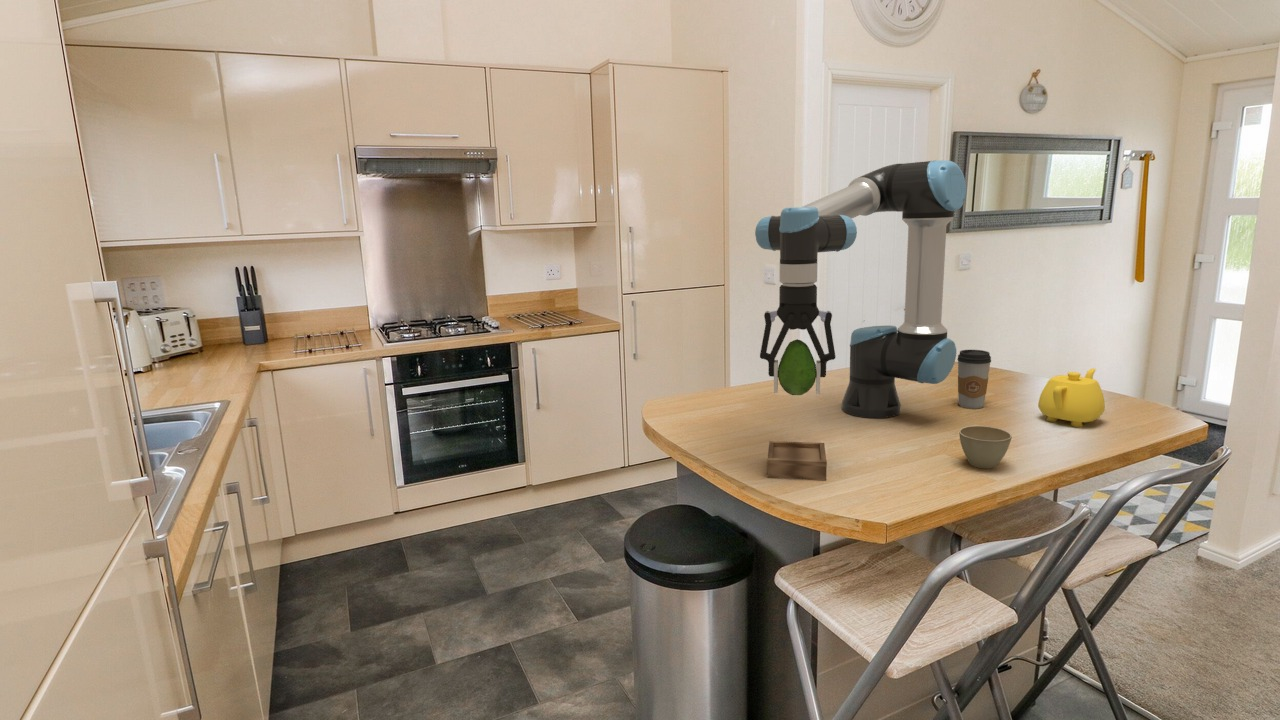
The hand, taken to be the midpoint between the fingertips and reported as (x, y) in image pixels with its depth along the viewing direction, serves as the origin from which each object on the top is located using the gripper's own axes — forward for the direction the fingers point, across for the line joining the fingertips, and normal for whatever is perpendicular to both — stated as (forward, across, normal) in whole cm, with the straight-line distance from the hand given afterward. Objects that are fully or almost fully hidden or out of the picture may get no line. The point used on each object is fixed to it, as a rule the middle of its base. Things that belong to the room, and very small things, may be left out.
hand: (796, 391), depth 147 cm
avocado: (+1, 0, 0) cm, 1 cm away
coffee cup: (+17, -47, -53) cm, 73 cm away
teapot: (+17, -68, -42) cm, 82 cm away
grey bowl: (+17, -39, -7) cm, 43 cm away
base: (+17, 0, 0) cm, 17 cm away
